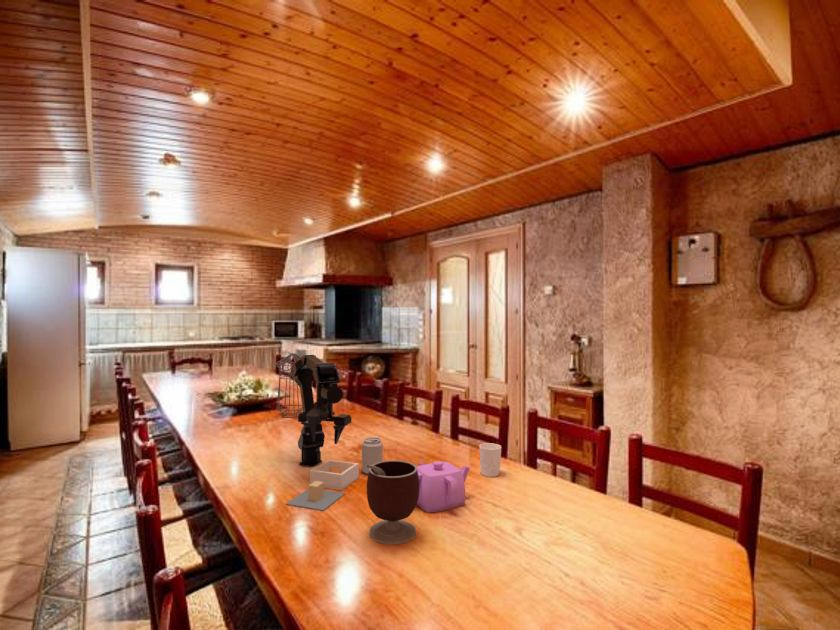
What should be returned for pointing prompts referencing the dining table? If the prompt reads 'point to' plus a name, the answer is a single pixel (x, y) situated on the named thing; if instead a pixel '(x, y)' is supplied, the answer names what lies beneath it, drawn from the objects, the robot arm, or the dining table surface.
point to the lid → (316, 497)
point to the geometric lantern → (289, 385)
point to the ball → (335, 470)
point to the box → (335, 474)
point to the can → (371, 452)
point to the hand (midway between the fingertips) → (324, 442)
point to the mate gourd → (392, 500)
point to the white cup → (490, 459)
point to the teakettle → (441, 486)
